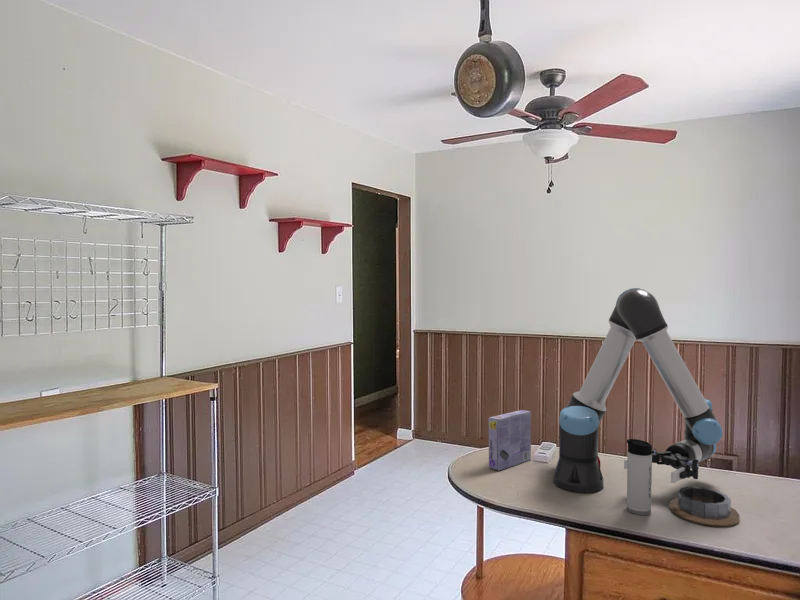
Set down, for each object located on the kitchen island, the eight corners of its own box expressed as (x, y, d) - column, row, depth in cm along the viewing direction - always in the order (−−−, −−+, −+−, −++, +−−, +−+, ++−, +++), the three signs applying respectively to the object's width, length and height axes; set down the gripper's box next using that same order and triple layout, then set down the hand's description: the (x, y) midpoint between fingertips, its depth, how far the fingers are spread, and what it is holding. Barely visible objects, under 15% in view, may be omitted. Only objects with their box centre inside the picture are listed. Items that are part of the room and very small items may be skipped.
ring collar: (655, 504, 159) (656, 487, 159) (702, 497, 165) (702, 480, 164) (704, 531, 143) (705, 512, 143) (754, 521, 148) (755, 503, 148)
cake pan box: (522, 455, 202) (522, 407, 201) (533, 459, 198) (534, 410, 197) (487, 468, 190) (487, 417, 189) (498, 472, 186) (498, 420, 185)
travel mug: (622, 505, 159) (623, 437, 158) (645, 506, 159) (646, 437, 158) (630, 515, 153) (631, 443, 152) (654, 515, 153) (656, 444, 151)
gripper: (727, 478, 160) (693, 498, 147) (643, 456, 179) (607, 471, 166) (727, 453, 160) (694, 470, 146) (643, 433, 179) (607, 446, 166)
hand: (647, 470), depth 156 cm, fingers open, 13 cm apart
